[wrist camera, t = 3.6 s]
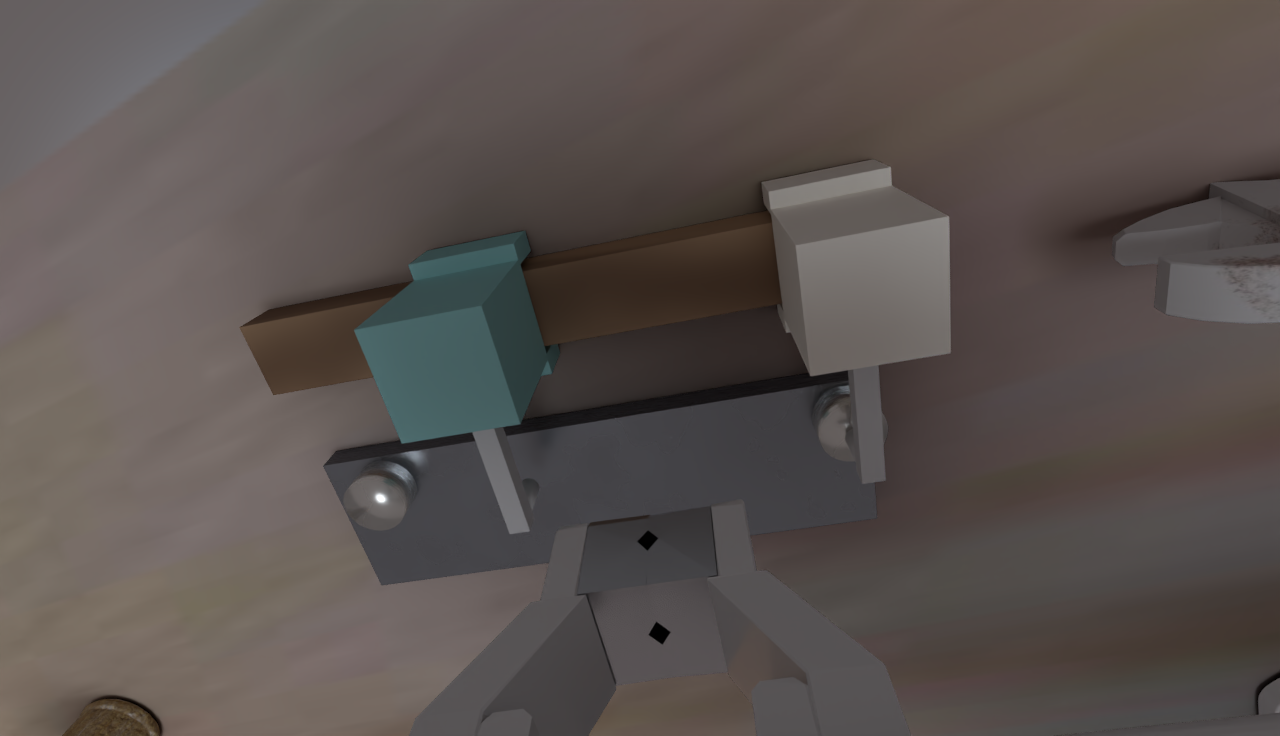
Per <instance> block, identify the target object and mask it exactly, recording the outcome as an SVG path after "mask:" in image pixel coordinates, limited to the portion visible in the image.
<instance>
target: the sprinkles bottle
mask: <svg viewBox="0 0 1280 736" xmlns="http://www.w3.org/2000/svg"><path fill="white" fill-rule="evenodd" d="M159 735H160V731H159V726H158V724H157V722H156V721H155V720H154V719H153V718H152V716H150V714H149V713H148V712H146V711H145V710H143V709H142V708H140V707H139V706H137V705H135V704H132V703H130V702H127V701H123V700H120V699H102V700H99V701H95V702H93V703H91V704H88V705H87V706H86V707H85V709H84V710H83V712H82V713H81V715H80V717H79V718H78V719H77V720H76V721H75V723H74V724H73V725H72V726H71V727H70V728H69V729H68V730H67V731H66V732H65V733H64V734H63V735H62V736H159Z"/></svg>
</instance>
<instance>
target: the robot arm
mask: <svg viewBox="0 0 1280 736" xmlns="http://www.w3.org/2000/svg"><path fill="white" fill-rule="evenodd" d="M726 672H728V675H729V676H730V678H731V679H732V680H733V681H734V683H735V684H736V685H737V686H738V688H739V689H740V690H741V691H742V693H743V694H744V695H745V696H746V698H747V699H748V700H749V702H750V703H751V704H752V705H753V710H754V718H755V726H756V734H757V736H911V734H910V731H909V728H908V726H907V723H906V720H905V718H904V715H903V712H902V709H901V707H900V704H899V701H898V699H897V696H896V693H895V691H894V688H893V685H892V682H891V680H890V677H889V674H888V672H887V669H886V666H885V664H884V663H883V662H881V661H880V660H879V659H878V658H876V657H875V656H874V655H873V654H871V653H870V652H869V651H868V650H866V649H865V648H864V647H863V646H861V645H860V644H859V643H858V642H856V641H855V640H854V639H852V638H851V637H850V636H849V635H847V634H846V633H845V632H844V631H842V630H841V629H840V628H839V627H837V626H836V625H835V624H834V623H832V622H831V621H830V620H829V619H827V618H826V617H825V616H824V615H822V614H821V613H820V612H819V611H817V610H816V609H815V608H814V607H812V606H811V605H810V604H809V603H807V602H806V601H805V600H804V599H802V598H801V597H800V596H799V595H797V594H796V593H795V592H794V591H792V590H791V589H790V588H789V587H787V586H786V585H785V584H784V583H782V582H781V581H780V580H779V579H777V578H776V577H775V576H774V575H772V574H771V573H770V572H769V571H767V570H761V571H757V569H756V563H755V558H754V553H753V547H752V542H751V536H750V531H749V526H748V520H747V515H746V510H745V504H744V502H743V500H742V499H739V500H734V501H728V502H723V503H717V504H712V505H711V506H706V507H700V508H693V509H687V510H680V511H674V512H667V513H661V514H654V515H644V516H636V517H628V518H620V519H612V520H605V521H597V522H591V523H583V524H576V525H569V526H562V527H560V528H559V529H558V531H557V532H556V535H555V539H554V543H553V548H552V552H551V556H550V561H549V565H548V569H547V574H546V578H545V582H544V587H543V591H542V595H541V599H540V601H536V602H531V603H530V604H529V605H528V606H527V607H526V608H525V609H524V610H523V611H522V612H521V613H520V614H519V615H518V616H517V617H516V618H515V619H514V620H513V621H512V622H511V623H510V624H509V625H508V626H507V627H506V628H505V629H504V630H503V631H502V632H501V633H500V634H499V635H498V636H497V637H496V638H495V639H494V640H493V641H492V642H491V643H490V644H489V645H488V646H487V647H486V648H485V649H484V650H483V651H482V652H481V653H480V654H479V655H478V656H477V657H476V658H475V659H474V660H473V661H472V662H471V663H470V664H469V665H468V666H467V667H466V668H465V669H464V670H463V671H462V672H461V673H460V674H459V675H458V676H457V677H456V678H455V679H454V680H453V681H452V682H451V683H450V684H449V685H448V686H447V687H446V688H445V689H444V690H443V691H442V692H441V693H440V694H439V695H438V696H437V697H436V698H435V699H434V700H433V701H432V702H431V703H430V704H429V705H428V706H427V707H426V708H425V710H424V711H423V712H422V713H421V714H420V715H419V716H418V717H417V718H416V719H415V721H414V724H413V727H412V729H411V732H410V734H409V736H588V735H589V733H590V732H591V730H592V728H593V727H594V725H595V724H596V722H597V720H598V719H599V717H600V715H601V714H602V712H603V710H604V709H605V707H606V705H607V704H608V702H609V701H610V699H611V697H612V696H613V694H614V692H615V691H616V686H617V685H624V684H631V683H637V682H644V681H651V680H657V679H664V678H671V677H682V676H693V675H704V674H715V673H726ZM1258 707H1259V715H1251V716H1241V717H1231V718H1221V719H1212V720H1202V721H1192V722H1182V723H1172V724H1163V725H1153V726H1143V727H1133V728H1124V729H1114V730H1104V731H1094V732H1084V733H1075V734H1065V735H1055V736H1280V678H1279V679H1277V680H1275V681H1273V682H1272V683H1270V684H1269V685H1267V686H1266V687H1265V688H1264V689H1263V690H1262V691H1261V693H1260V695H1259V698H1258Z"/></svg>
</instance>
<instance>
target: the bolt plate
mask: <svg viewBox="0 0 1280 736" xmlns="http://www.w3.org/2000/svg"><path fill="white" fill-rule="evenodd" d="M881 412H882V411H881ZM503 428H504V431H505V434H506V437H507V440H508V443H509V446H510V449H511V452H512V455H513V458H514V461H515V463H516V466H517V469H518V472H519V475H520V478H521V481H522V480H524V479H527V478H531V479H534V480H536V481H537V482H538V484H539V487H540V488H539V492H538V495H537V498H536V501H535V504H534V507H533V510H532V513H533V516H534V520H533V523H532V526H531V530H530V531H529V532H522V533H515V534H509V531H508V528H507V525H506V523H505V520H504V517H503V515H502V512H501V509H500V506H499V504H498V501H497V498H496V496H495V493H494V490H493V487H492V485H491V482H490V479H489V476H488V474H487V471H486V468H485V466H484V463H483V460H482V457H481V455H480V452H479V449H478V447H477V444H476V441H475V438H474V436H473V433H472V432H470V433H464V434H458V435H452V436H446V437H440V438H434V439H428V440H421V441H415V442H409V443H403V444H402V443H401V441H395V442H389V443H383V444H377V445H371V446H365V447H359V448H353V449H347V450H341V451H336V452H335V453H334V454H333V455H332V456H331V458H330V459H329V460H328V461H327V462H326V463H325V464H324V466H323V467H324V469H325V471H326V473H327V475H328V477H329V479H330V481H331V483H332V485H333V487H334V489H335V491H336V493H337V495H338V497H339V499H340V501H341V503H342V505H343V507H344V509H345V511H346V513H347V516H348V518H349V520H350V522H351V524H352V526H353V528H354V530H355V532H356V534H357V536H358V538H359V540H360V542H361V544H362V546H363V548H364V550H365V552H366V554H367V556H368V558H369V560H370V562H371V565H372V567H373V569H374V571H375V573H376V575H377V577H378V579H379V581H380V583H381V585H388V584H395V583H403V582H410V581H417V580H425V579H432V578H440V577H447V576H454V575H462V574H469V573H477V572H484V571H491V570H499V569H506V568H514V567H521V566H528V565H536V564H543V563H549V561H550V556H551V552H552V548H553V543H554V539H555V535H556V532H557V531H558V529H559V528H560V527H562V526H569V525H576V524H583V523H591V522H597V521H605V520H612V519H620V518H628V517H636V516H644V515H654V514H661V513H667V512H674V511H680V510H687V509H693V508H700V507H706V506H711V505H712V504H717V503H723V502H728V501H734V500H739V499H742V500H743V502H744V504H745V510H746V515H747V520H748V526H749V531H750V536H751V535H758V534H765V533H773V532H780V531H788V530H795V529H802V528H810V527H817V526H825V525H832V524H839V523H847V522H854V521H862V520H869V519H876V518H877V508H876V495H875V482H874V483H867V484H862V482H861V480H860V478H859V475H858V473H857V471H856V462H855V460H854V458H853V456H852V454H851V452H850V450H849V447H848V445H847V443H846V441H845V435H846V433H847V432H848V431H849V430H851V429H853V424H852V412H851V400H850V389H849V377H848V370H846V371H840V372H834V373H828V374H822V375H816V376H810V374H809V373H806V374H800V375H794V376H788V377H781V378H775V379H769V380H763V381H757V382H751V383H745V384H739V385H733V386H727V387H721V388H715V389H709V390H703V391H697V392H691V393H685V394H679V395H673V396H667V397H661V398H655V399H649V400H643V401H637V402H630V403H624V404H618V405H612V406H606V407H600V408H594V409H588V410H582V411H576V412H570V413H564V414H558V415H552V416H546V417H540V418H534V419H528V420H522V422H521V424H518V425H512V426H506V427H503ZM882 428H883V444H884V443H885V441H886V439H887V436H888V423H887V420H886V418H885V416H884V415H883V413H882Z"/></svg>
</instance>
